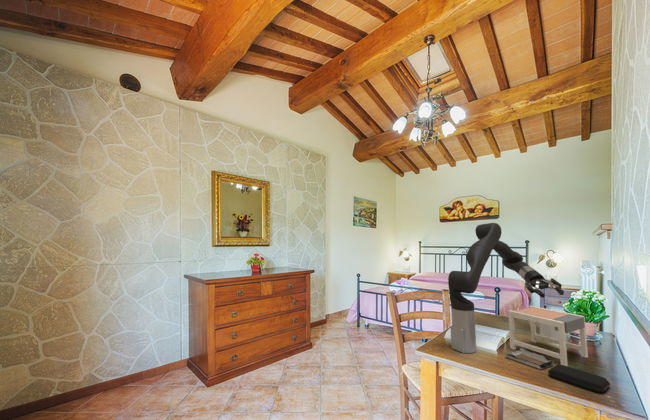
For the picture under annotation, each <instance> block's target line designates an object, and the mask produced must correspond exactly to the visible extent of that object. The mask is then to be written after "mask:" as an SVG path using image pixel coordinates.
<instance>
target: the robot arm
mask: <svg viewBox="0 0 650 420" xmlns="http://www.w3.org/2000/svg"><path fill="white" fill-rule="evenodd" d="M475 236H476V238H477V239H478V240H477V241H475V242H474V243H472V245H470V247H469V248H468V250H467V252H466V254H465V259H466V262H467V264H468V266H469V267H470V270H469V271H462V270H461V271H460V270H451V271H450V272H449V274H448V280H447V283H448V292H449V295H448V296H449V301H450V309H451V310H450V311H451V314H450V315H451V316H450V317H451V326H450V346H451V350H455V351H458V352H460V353H462V354H473V353H476V352H477V338H476V337H477V336H476V332H477V331H476V317H475V314H476V313H475V304H474V302H473V301H472V300H470V299H468V298H466V297H465V296H463V294H473V293H476V290H477V288H478V285H479V283H480V279H481V276H482V273H483V271H484V268H485V266H486V264H487V262H488V260H489V259H490V256H491V253H492V251H494V252H495V253H496V254H497V255H498V256H500V257H499V258H501V259H502V260H501V261H502V265H503V266H504V267H505V268H507V269H509V270H511V271H513V272H515V273H517V274H518V276H520V277H521V278H522V279H523V280H524V281H525V283H524V287H525V289H526V290H527V291H528V292H529V293H530V294H534V293H535V294H537V296H538V297H540V298H542V299H544V298H545V297H546V296H545V293H544V292H543V291H542V290H546V289H548V290H550V291H551V290H554V291H556V292H557V293H558V294H559V295H560V296H564V294H565V293H564V289H562V283H561V282H559V281H557V280H556V279H555V278H550V279H549V280H548V279H546V278H545V277H544V275H542V274H541V273H540V272H539V271H538V270H536V269H535V268H534V267H532V266H531V265H529V264H528V263H527V262H525V261H524V258H523V256H522V254H520V253H519V252H517V251H516V250H513V249H512V248H511V247H510V246H509V245H508V244H507V243H505V242H503V241H501V240H500V239H501V236H502V227H501V225H499V223H496V222H489V223H481V224H478V225H477V226H476V227H475Z"/></svg>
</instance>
